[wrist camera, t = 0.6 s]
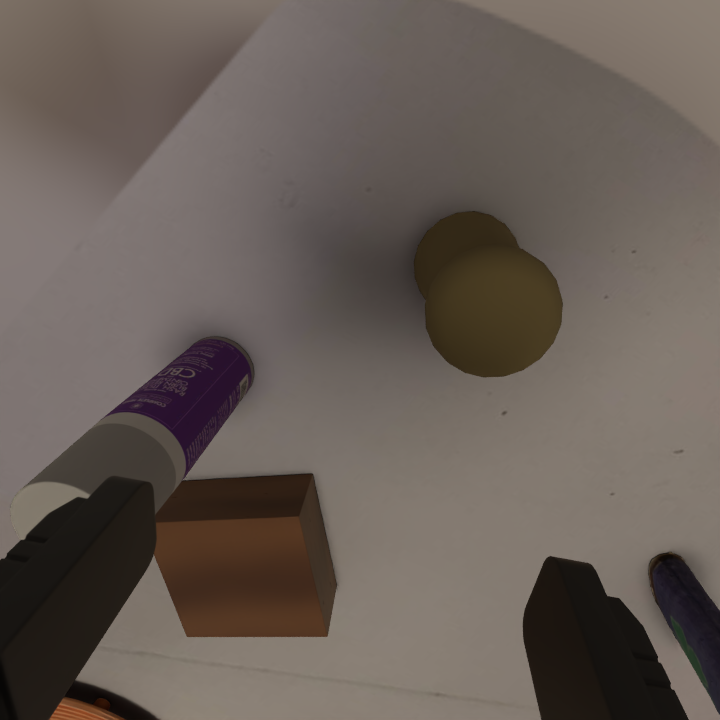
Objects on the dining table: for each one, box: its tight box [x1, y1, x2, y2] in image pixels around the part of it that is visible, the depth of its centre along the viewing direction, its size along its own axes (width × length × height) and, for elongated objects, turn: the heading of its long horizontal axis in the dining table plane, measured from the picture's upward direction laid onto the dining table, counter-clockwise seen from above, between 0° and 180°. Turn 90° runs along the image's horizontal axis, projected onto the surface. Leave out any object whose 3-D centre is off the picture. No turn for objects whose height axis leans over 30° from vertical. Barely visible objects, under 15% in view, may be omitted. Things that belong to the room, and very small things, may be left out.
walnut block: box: [154, 474, 337, 637], centre depth 34 cm, size 11×11×4 cm
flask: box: [649, 552, 720, 714], centre depth 30 cm, size 9×3×11 cm, turn 28°
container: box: [10, 337, 254, 540], centre depth 24 cm, size 5×5×15 cm
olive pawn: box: [414, 211, 563, 377], centre depth 22 cm, size 6×6×11 cm
